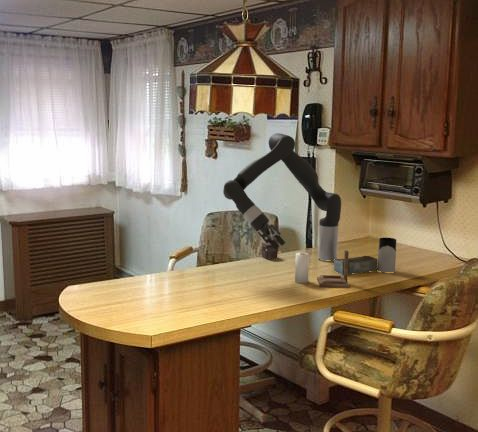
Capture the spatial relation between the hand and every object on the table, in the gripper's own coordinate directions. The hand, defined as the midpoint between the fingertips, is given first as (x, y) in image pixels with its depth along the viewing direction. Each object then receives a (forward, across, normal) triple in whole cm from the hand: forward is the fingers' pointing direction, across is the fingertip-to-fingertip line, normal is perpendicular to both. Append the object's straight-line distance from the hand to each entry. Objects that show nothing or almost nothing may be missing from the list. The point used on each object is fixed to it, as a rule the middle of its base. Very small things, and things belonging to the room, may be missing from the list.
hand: (280, 246), depth 251 cm
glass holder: (+39, +36, -18) cm, 56 cm away
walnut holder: (+26, +3, -6) cm, 27 cm away
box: (-2, +36, +22) cm, 42 cm away
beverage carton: (+30, +26, -9) cm, 41 cm away
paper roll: (+17, 0, +3) cm, 17 cm away
